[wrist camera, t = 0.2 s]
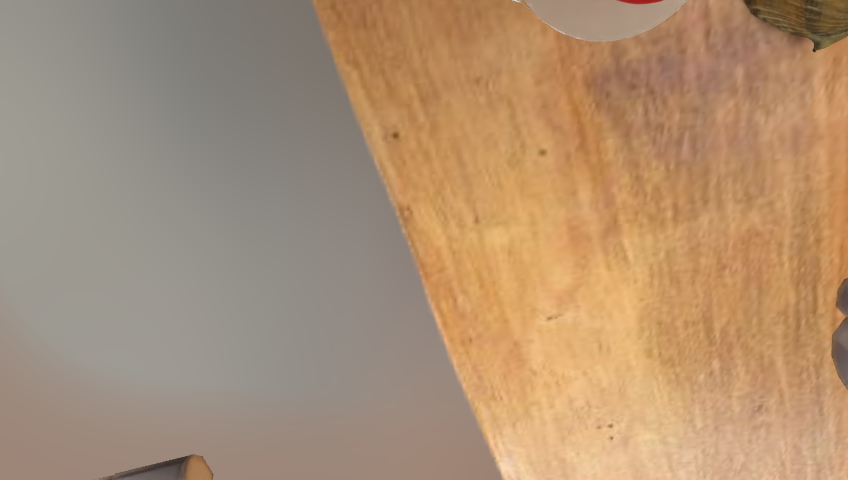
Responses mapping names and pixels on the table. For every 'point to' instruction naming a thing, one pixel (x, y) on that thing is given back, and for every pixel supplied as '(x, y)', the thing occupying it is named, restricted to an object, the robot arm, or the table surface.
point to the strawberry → (640, 1)
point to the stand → (601, 17)
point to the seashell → (806, 18)
